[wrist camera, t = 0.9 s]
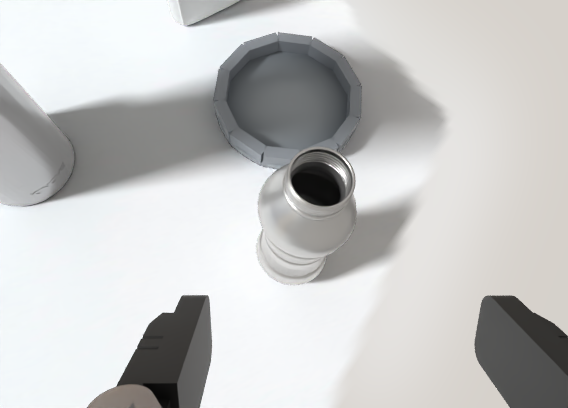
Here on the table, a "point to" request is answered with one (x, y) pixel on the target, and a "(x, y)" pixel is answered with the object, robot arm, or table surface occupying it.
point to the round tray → (286, 98)
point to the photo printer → (196, 9)
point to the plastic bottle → (305, 214)
